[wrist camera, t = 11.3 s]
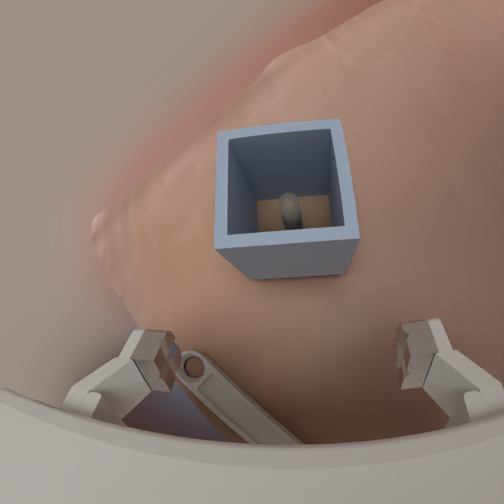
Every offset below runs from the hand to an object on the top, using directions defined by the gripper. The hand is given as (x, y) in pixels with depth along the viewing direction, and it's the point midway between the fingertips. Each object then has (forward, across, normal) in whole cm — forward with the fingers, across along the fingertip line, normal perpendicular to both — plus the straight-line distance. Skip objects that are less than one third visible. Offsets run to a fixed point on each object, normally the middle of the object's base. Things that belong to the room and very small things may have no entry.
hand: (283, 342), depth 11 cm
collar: (+12, 0, +2) cm, 12 cm away
